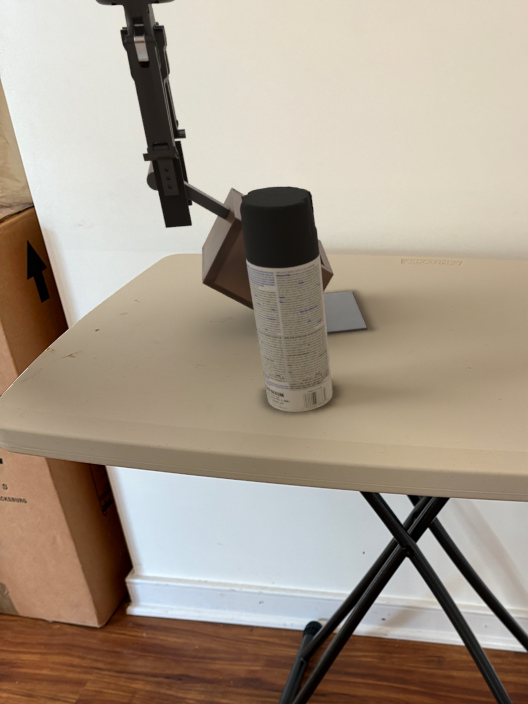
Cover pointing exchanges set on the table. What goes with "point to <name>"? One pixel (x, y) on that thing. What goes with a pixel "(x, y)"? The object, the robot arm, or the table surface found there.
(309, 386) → the spray can
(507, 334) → the table surface
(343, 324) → the stand
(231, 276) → the brown box with handle
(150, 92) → the robot arm
